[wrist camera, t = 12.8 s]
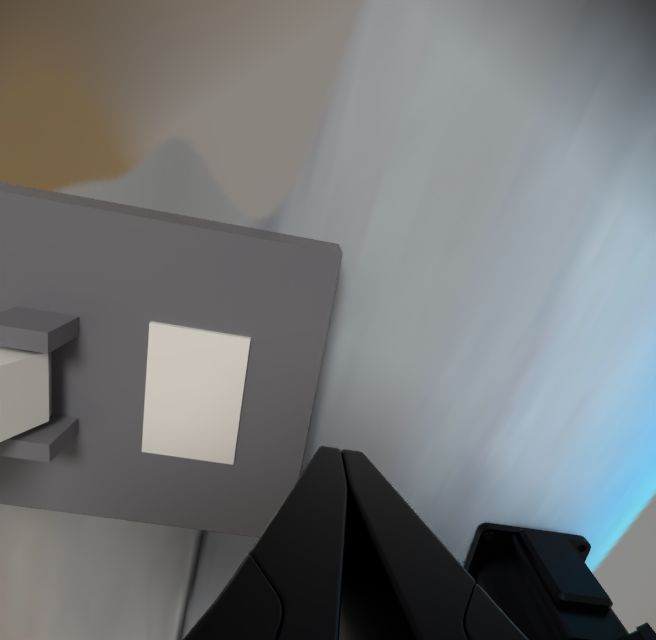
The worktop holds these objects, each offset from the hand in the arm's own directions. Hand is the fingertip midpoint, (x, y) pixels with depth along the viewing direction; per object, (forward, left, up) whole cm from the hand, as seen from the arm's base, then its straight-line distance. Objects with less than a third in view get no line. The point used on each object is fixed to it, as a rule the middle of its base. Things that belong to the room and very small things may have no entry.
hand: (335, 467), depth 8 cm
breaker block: (-4, +11, -12) cm, 17 cm away
